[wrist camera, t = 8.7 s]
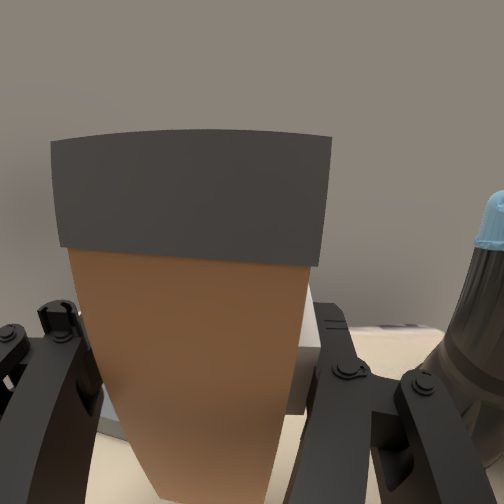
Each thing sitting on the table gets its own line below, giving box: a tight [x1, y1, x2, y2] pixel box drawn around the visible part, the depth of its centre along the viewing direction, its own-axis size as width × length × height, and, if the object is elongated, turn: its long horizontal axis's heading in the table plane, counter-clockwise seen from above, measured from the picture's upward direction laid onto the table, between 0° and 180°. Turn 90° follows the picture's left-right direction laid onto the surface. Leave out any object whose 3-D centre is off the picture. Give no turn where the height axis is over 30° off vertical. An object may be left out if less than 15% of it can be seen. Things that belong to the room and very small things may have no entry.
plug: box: [51, 129, 332, 504], centre depth 9 cm, size 5×5×14 cm
